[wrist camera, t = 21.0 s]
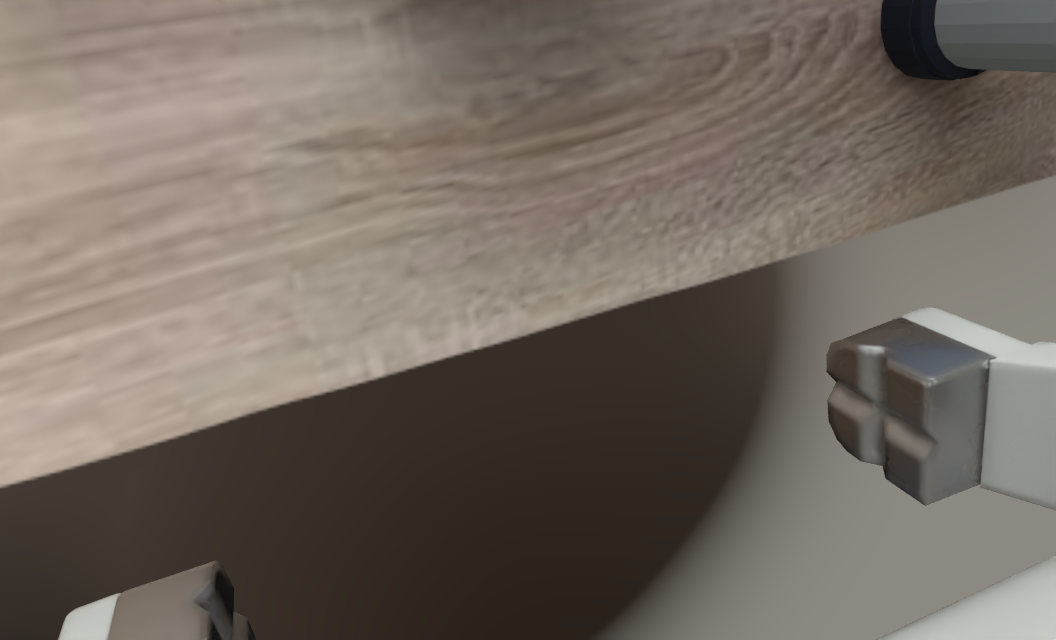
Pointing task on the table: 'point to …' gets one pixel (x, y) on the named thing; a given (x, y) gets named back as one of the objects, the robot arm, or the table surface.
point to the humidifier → (969, 36)
